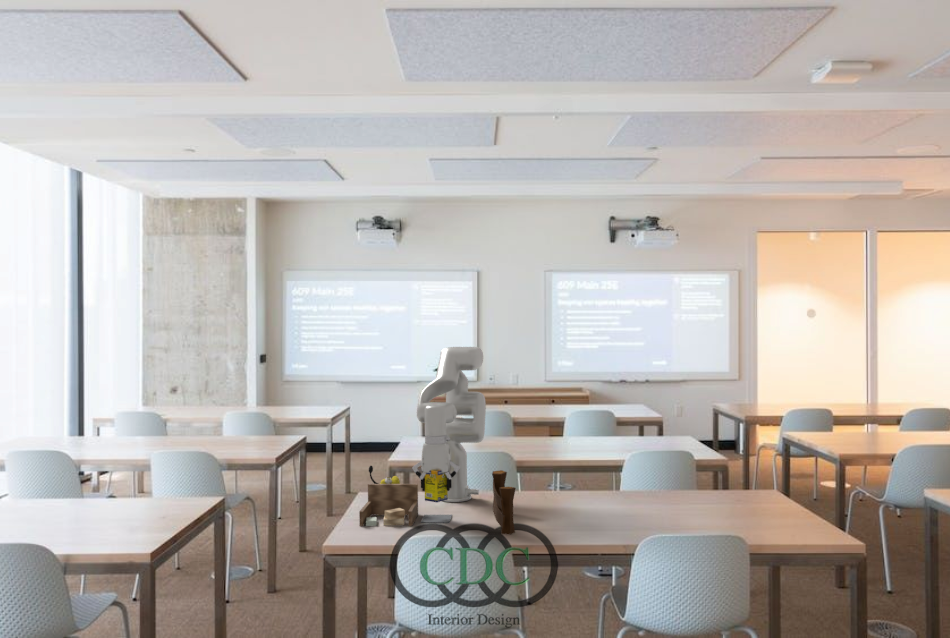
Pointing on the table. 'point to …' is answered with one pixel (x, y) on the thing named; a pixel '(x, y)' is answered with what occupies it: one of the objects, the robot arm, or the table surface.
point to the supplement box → (436, 486)
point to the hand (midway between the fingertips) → (436, 489)
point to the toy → (385, 481)
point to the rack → (391, 500)
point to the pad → (436, 519)
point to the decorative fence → (503, 502)
